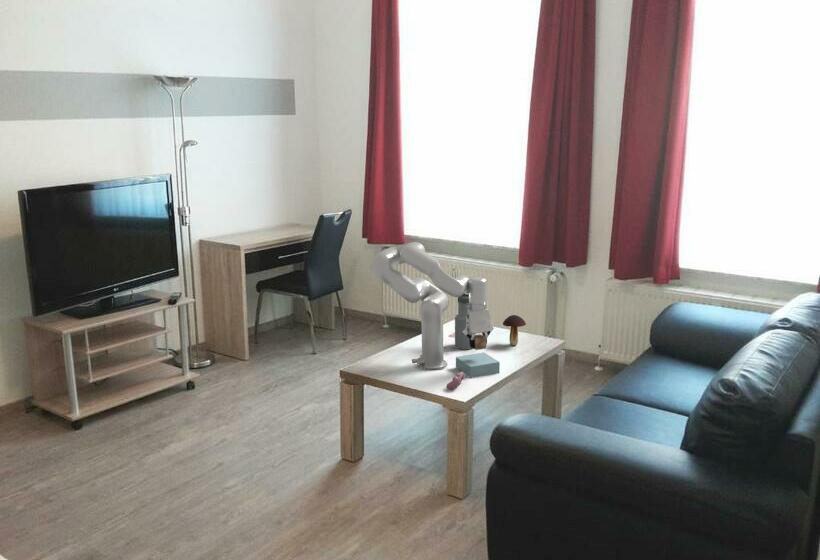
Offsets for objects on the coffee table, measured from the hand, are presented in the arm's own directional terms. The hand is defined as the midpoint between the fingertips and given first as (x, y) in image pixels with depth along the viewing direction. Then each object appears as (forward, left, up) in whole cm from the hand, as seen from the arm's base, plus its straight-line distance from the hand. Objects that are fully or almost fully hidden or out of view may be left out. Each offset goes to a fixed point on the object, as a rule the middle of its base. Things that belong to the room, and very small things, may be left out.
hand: (478, 346), depth 320 cm
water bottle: (+10, +31, -11) cm, 35 cm away
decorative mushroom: (+32, +23, -11) cm, 41 cm away
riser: (0, 0, -11) cm, 11 cm away
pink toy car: (-17, -12, -11) cm, 24 cm away
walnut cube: (0, 0, -1) cm, 1 cm away
